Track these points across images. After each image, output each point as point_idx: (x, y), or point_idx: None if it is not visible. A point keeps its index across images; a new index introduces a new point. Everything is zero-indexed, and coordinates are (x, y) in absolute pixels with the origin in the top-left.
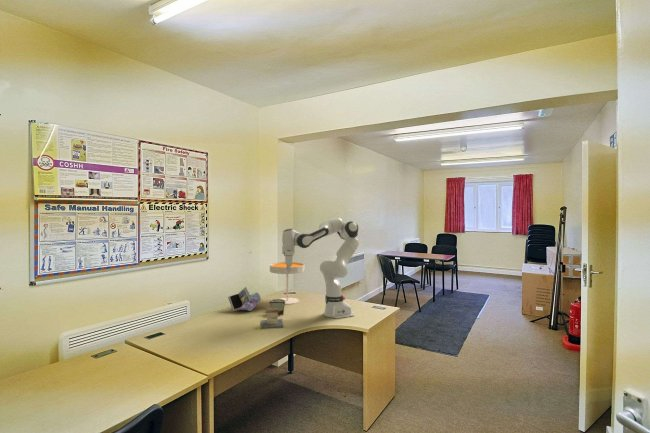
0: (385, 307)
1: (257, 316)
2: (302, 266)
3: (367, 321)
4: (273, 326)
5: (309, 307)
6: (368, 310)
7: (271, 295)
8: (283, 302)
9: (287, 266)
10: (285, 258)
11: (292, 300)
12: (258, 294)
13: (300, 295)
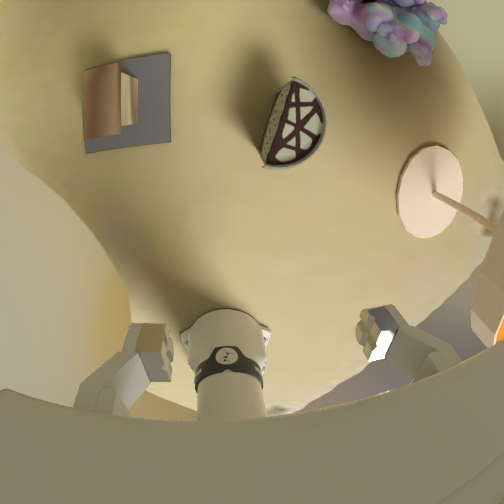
0: None
1: (254, 35)
2: None
3: (158, 386)
4: None
5: (334, 267)
6: None
7: (493, 153)
8: (268, 158)
9: (77, 395)
10: (482, 454)
11: (429, 213)
12: (418, 50)
13: (464, 247)
